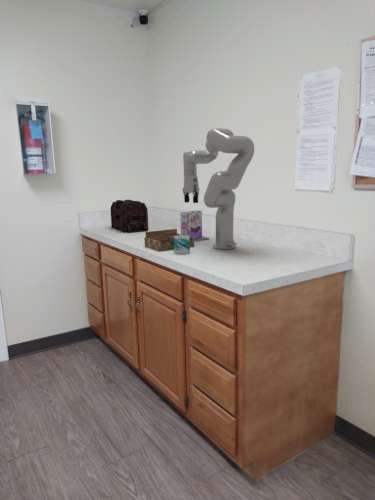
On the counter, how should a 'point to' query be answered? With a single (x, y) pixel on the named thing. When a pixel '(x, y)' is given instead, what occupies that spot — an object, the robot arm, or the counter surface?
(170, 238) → the offcut upper
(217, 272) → the counter surface
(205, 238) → the board
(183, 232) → the candy box
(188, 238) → the mug
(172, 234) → the frame
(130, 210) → the crate
